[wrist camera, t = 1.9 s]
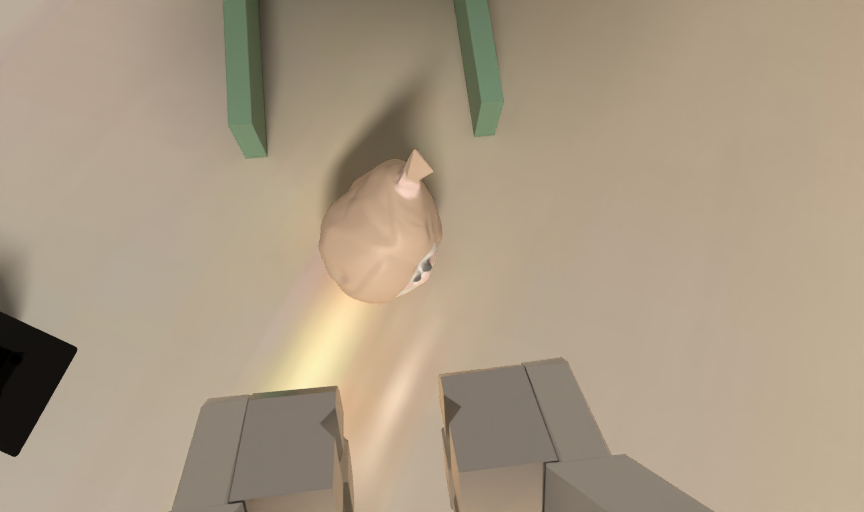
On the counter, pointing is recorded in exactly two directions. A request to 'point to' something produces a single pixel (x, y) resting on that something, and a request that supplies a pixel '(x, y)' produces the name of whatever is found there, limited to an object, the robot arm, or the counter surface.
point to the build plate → (27, 378)
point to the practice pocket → (248, 76)
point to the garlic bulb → (383, 232)
